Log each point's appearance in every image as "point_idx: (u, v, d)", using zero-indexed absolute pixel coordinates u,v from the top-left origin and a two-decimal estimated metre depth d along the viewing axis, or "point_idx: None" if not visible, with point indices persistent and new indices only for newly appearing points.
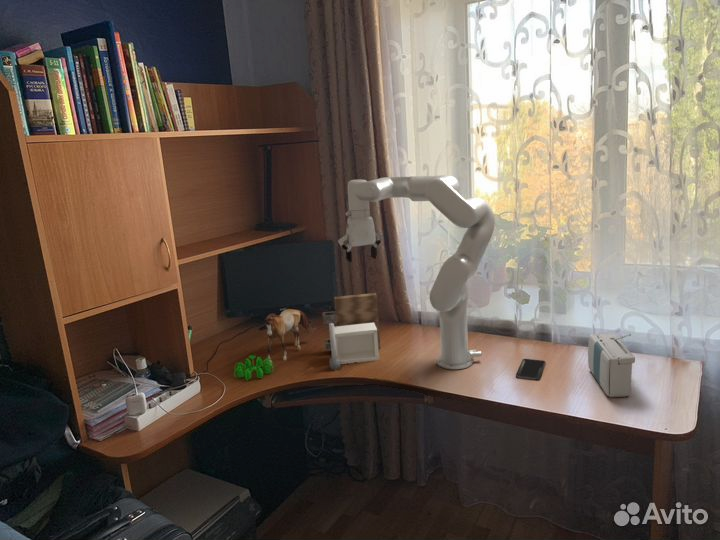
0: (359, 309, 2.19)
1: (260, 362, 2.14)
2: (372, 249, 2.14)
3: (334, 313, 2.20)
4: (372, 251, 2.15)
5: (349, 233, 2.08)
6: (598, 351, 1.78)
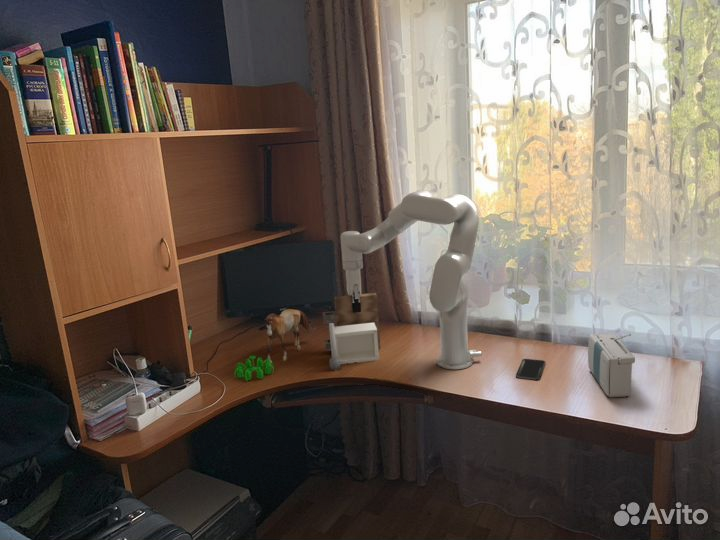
0: None
1: (261, 362, 2.14)
2: None
3: (334, 313, 2.20)
4: None
5: None
6: (598, 351, 1.78)
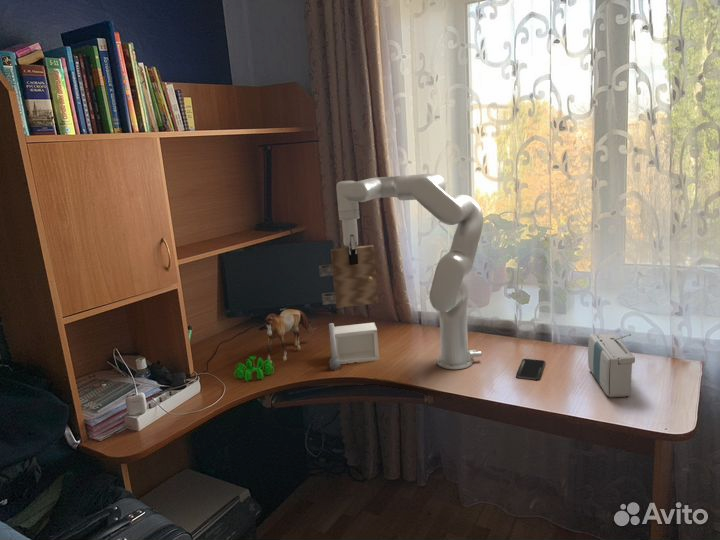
0: None
1: (261, 363, 2.13)
2: None
3: (330, 266, 2.15)
4: None
5: None
6: (598, 351, 1.78)
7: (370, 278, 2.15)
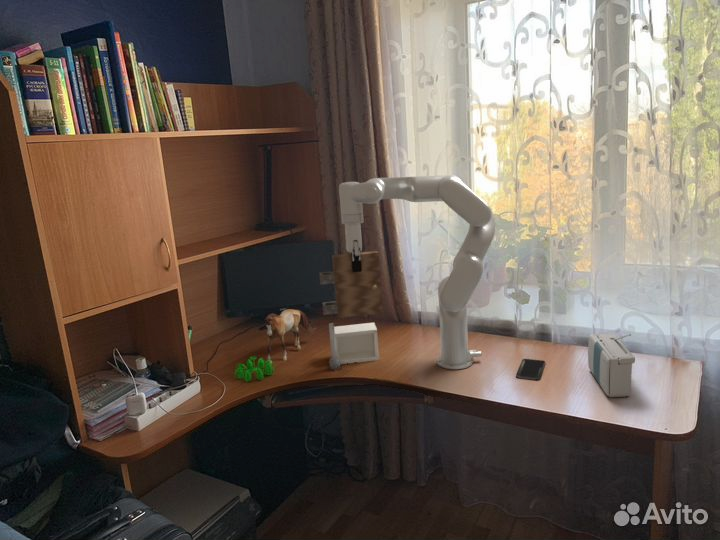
0: None
1: (262, 363, 2.13)
2: None
3: (332, 273, 2.00)
4: None
5: None
6: (598, 351, 1.78)
7: (374, 286, 2.01)
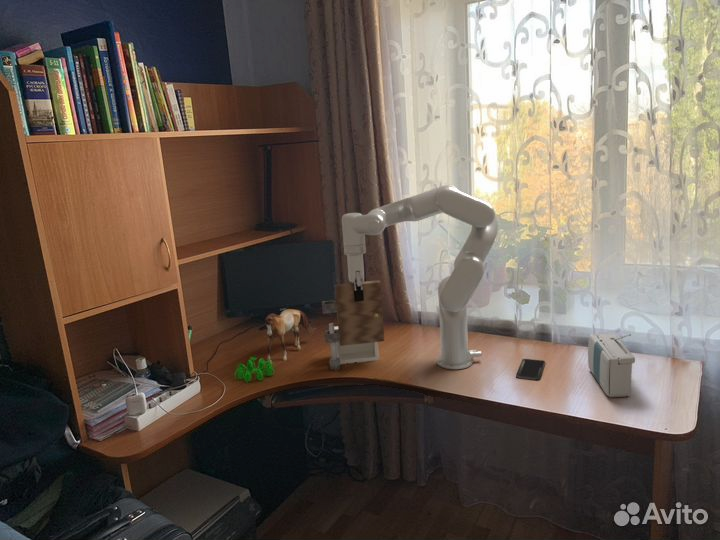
0: None
1: (262, 364, 2.12)
2: None
3: (334, 302, 2.03)
4: None
5: None
6: (598, 351, 1.78)
7: (376, 315, 2.03)
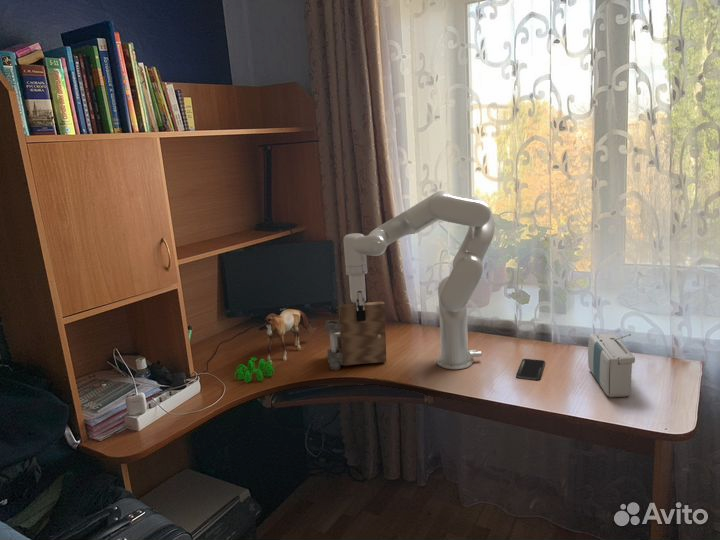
0: None
1: (263, 364, 2.12)
2: None
3: (338, 322, 2.05)
4: None
5: None
6: (598, 351, 1.78)
7: (379, 336, 2.05)
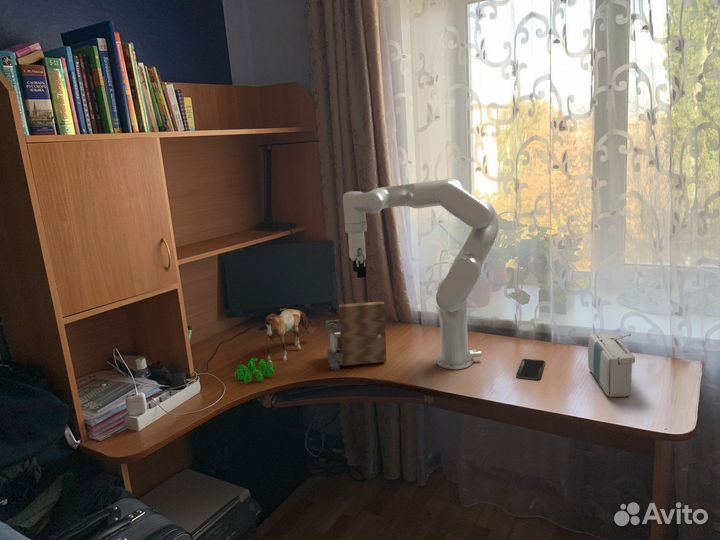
0: (365, 319, 2.04)
1: (263, 365, 2.11)
2: None
3: (338, 322, 2.05)
4: None
5: None
6: (598, 351, 1.78)
7: (379, 336, 2.05)
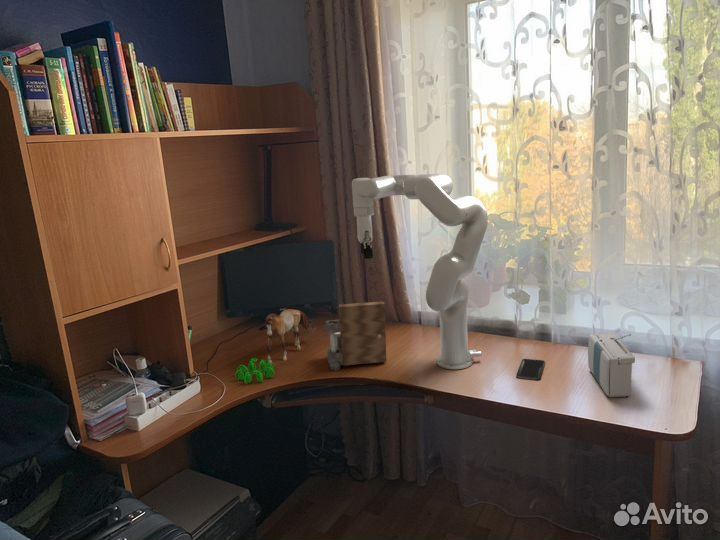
0: (365, 319, 2.04)
1: (263, 365, 2.11)
2: None
3: (338, 322, 2.05)
4: None
5: None
6: (598, 351, 1.78)
7: (379, 336, 2.05)
